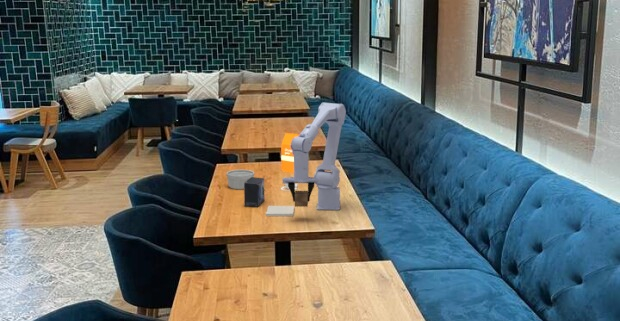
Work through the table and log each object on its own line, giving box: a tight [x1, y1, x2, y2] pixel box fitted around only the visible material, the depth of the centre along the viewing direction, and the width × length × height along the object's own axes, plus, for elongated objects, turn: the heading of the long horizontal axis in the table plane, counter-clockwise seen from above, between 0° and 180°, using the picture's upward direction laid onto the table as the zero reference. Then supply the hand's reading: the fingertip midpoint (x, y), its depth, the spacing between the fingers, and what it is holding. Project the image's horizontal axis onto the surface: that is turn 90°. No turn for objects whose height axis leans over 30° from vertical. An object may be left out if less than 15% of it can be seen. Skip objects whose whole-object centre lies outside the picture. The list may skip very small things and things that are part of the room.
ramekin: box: [226, 169, 255, 190], centre depth 283 cm, size 13×13×7 cm
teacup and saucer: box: [280, 183, 298, 192], centre depth 280 cm, size 9×8×4 cm
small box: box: [243, 176, 265, 208], centre depth 255 cm, size 11×6×10 cm, turn 168°
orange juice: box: [280, 132, 300, 174], centre depth 313 cm, size 8×9×20 cm
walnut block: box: [294, 190, 309, 208], centre depth 233 cm, size 5×5×5 cm
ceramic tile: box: [265, 205, 295, 217], centre depth 244 cm, size 11×11×1 cm
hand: (301, 200), depth 234 cm, fingers closed on walnut block, 5 cm apart
